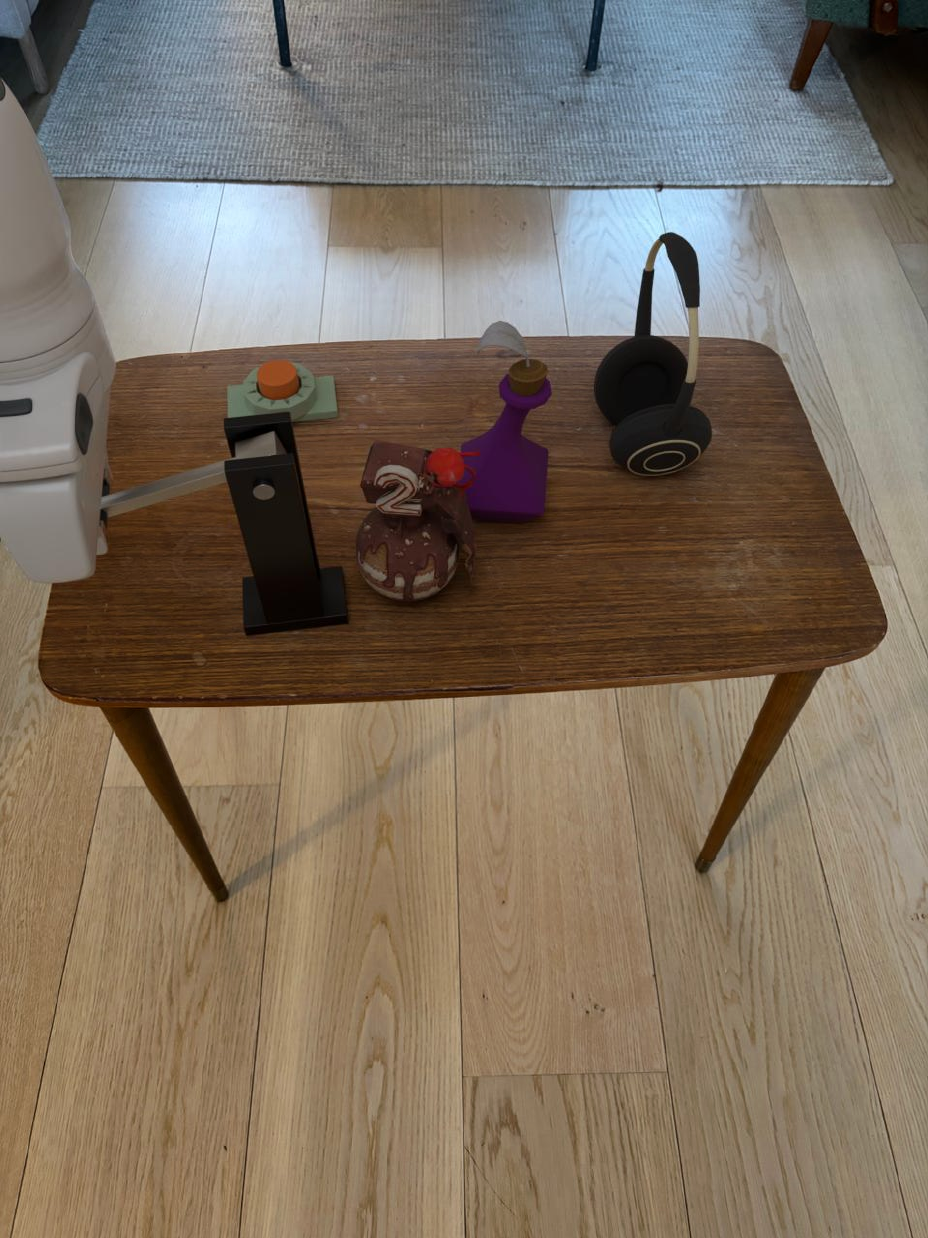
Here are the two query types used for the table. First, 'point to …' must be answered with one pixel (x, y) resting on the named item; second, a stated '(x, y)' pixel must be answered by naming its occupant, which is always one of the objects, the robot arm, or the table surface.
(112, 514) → the lever
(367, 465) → the chocolate birthday cake
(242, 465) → the bracket
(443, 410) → the table surface
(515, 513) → the perfume bottle
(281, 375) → the button
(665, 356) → the headphones
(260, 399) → the button box
